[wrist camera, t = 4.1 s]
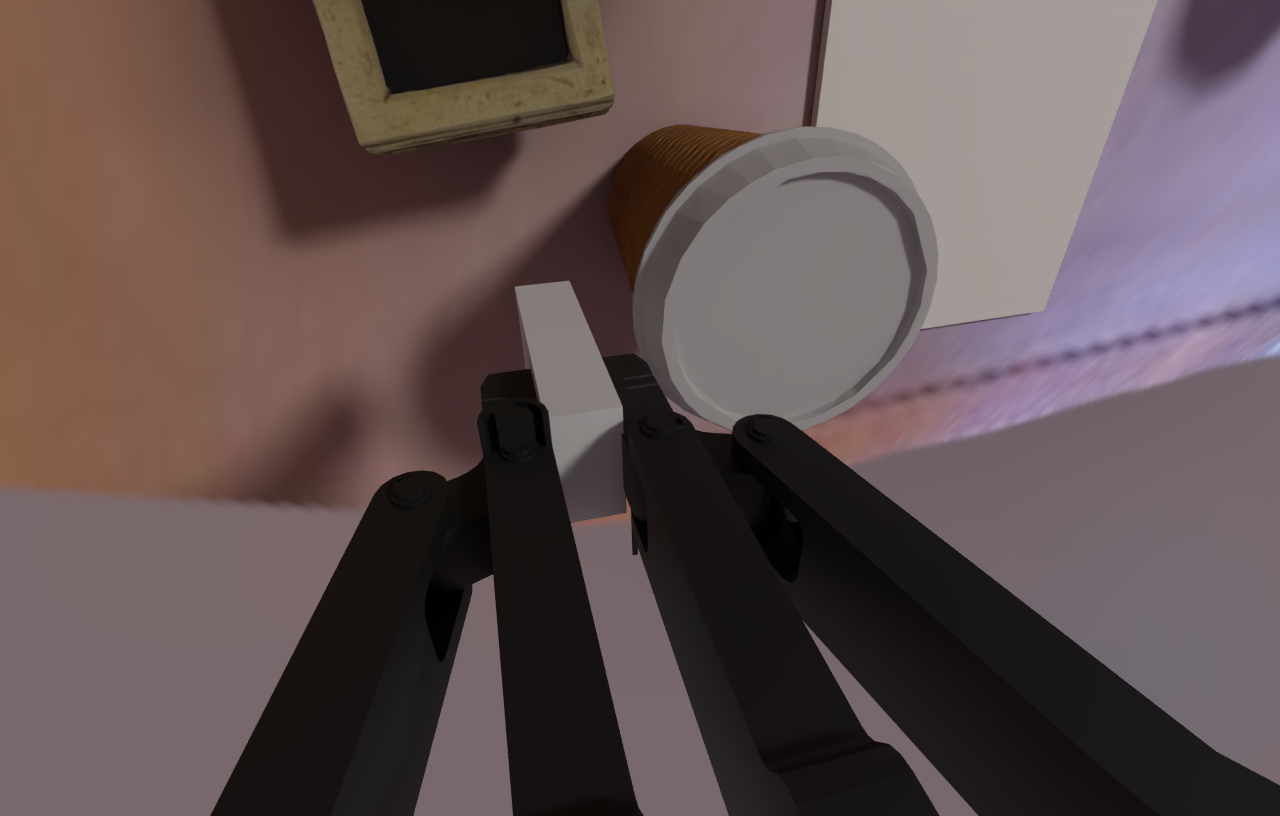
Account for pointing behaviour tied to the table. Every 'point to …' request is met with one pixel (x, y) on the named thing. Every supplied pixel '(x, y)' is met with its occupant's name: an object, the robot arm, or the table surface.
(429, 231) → the table surface
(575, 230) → the table surface
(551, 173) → the table surface
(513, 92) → the box
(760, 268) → the disposable coffee cup
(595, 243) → the table surface
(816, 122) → the felt mat
